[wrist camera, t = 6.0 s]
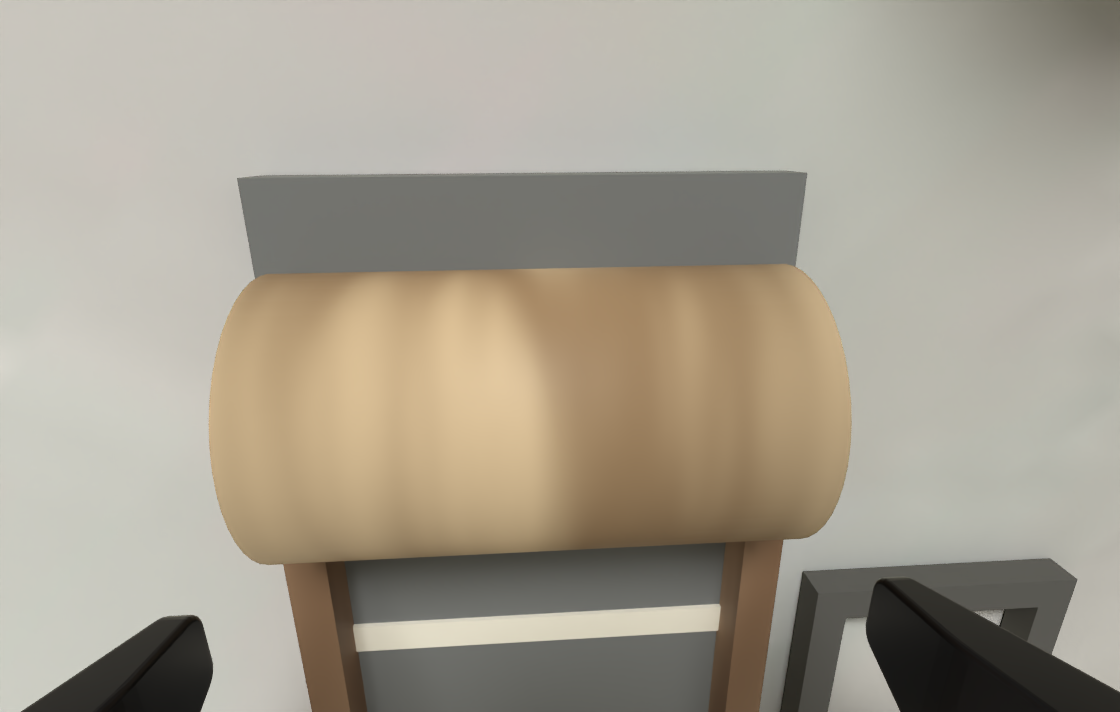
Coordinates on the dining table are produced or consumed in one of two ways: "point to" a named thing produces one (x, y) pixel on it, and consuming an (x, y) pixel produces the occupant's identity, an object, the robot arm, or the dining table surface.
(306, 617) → the walnut lane
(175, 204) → the dining table surface
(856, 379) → the dining table surface
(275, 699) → the dining table surface
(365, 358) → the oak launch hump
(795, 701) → the grey square frame
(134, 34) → the dining table surface
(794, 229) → the runway mat
